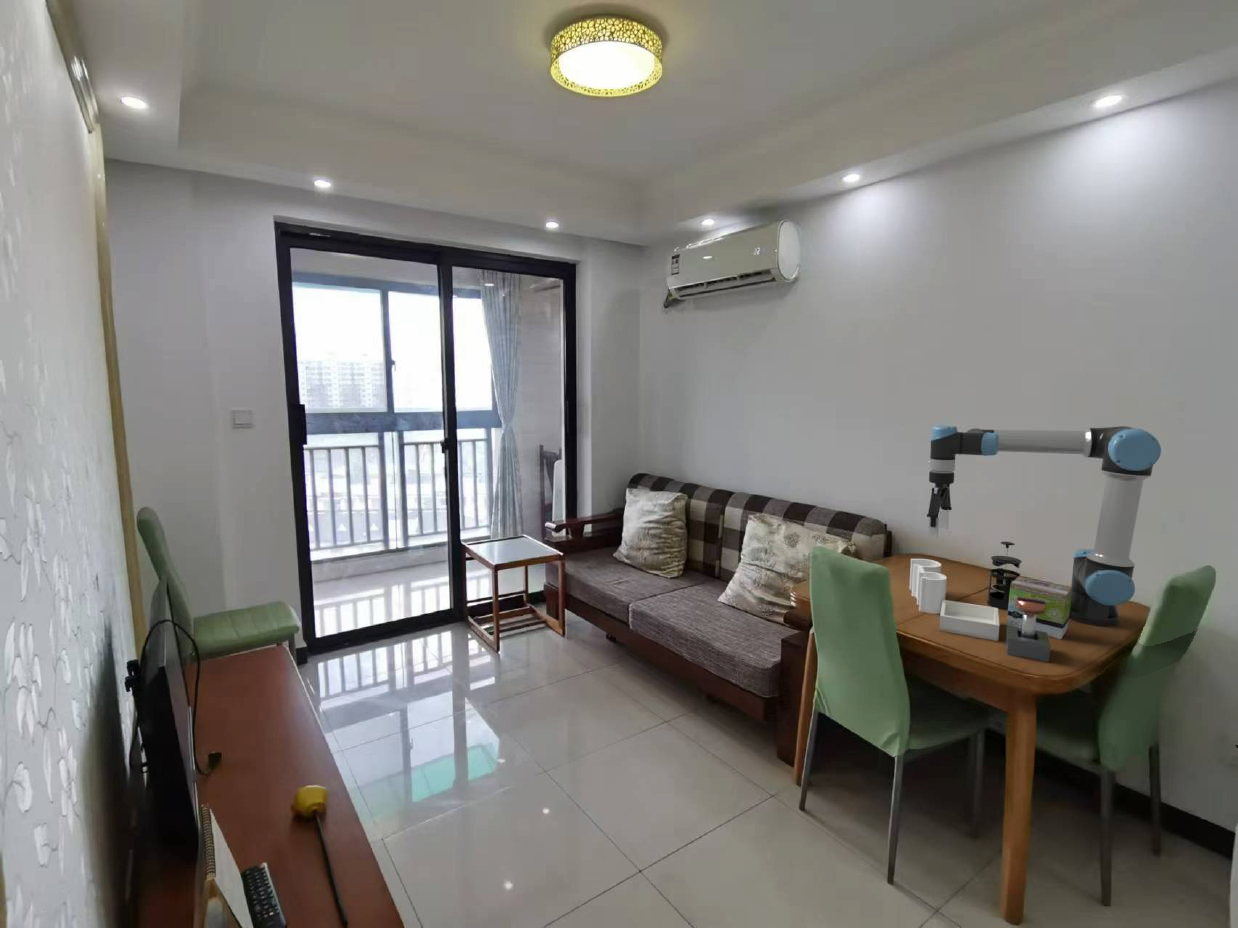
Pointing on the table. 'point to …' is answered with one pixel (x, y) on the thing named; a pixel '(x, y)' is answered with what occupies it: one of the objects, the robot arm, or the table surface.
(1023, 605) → the copper slotted screw
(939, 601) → the bracket
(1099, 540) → the robot arm
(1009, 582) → the french press
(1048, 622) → the tea box
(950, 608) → the tray
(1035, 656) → the block
